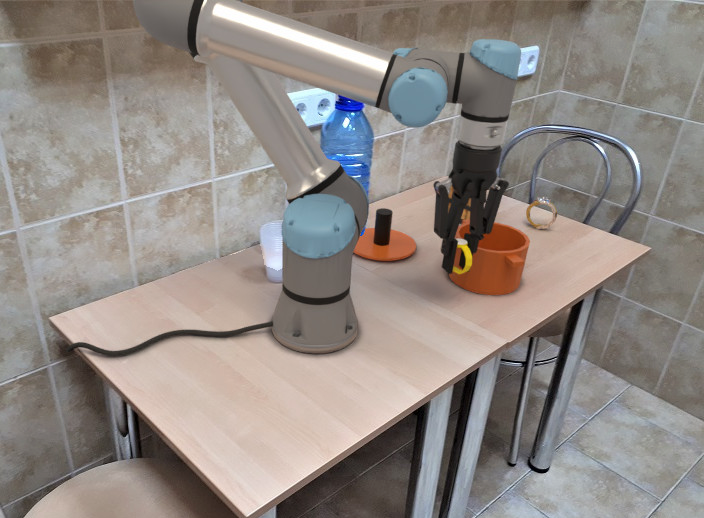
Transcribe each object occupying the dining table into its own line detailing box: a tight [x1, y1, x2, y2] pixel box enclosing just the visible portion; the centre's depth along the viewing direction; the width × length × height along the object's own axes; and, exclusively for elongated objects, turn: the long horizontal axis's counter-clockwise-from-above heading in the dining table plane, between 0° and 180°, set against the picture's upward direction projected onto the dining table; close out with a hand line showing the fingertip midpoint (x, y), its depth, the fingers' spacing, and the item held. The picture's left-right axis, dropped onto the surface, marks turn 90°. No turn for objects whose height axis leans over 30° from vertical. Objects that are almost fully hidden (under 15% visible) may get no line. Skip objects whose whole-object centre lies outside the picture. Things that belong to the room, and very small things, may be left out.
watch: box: [453, 238, 472, 274], centre depth 111 cm, size 6×3×6 cm, turn 32°
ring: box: [525, 196, 558, 230], centre depth 148 cm, size 7×3×8 cm, turn 50°
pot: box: [448, 219, 531, 296], centre depth 126 cm, size 15×20×10 cm
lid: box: [353, 207, 417, 262], centre depth 136 cm, size 16×16×9 cm
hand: (455, 269), depth 112 cm, fingers closed on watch, 3 cm apart
